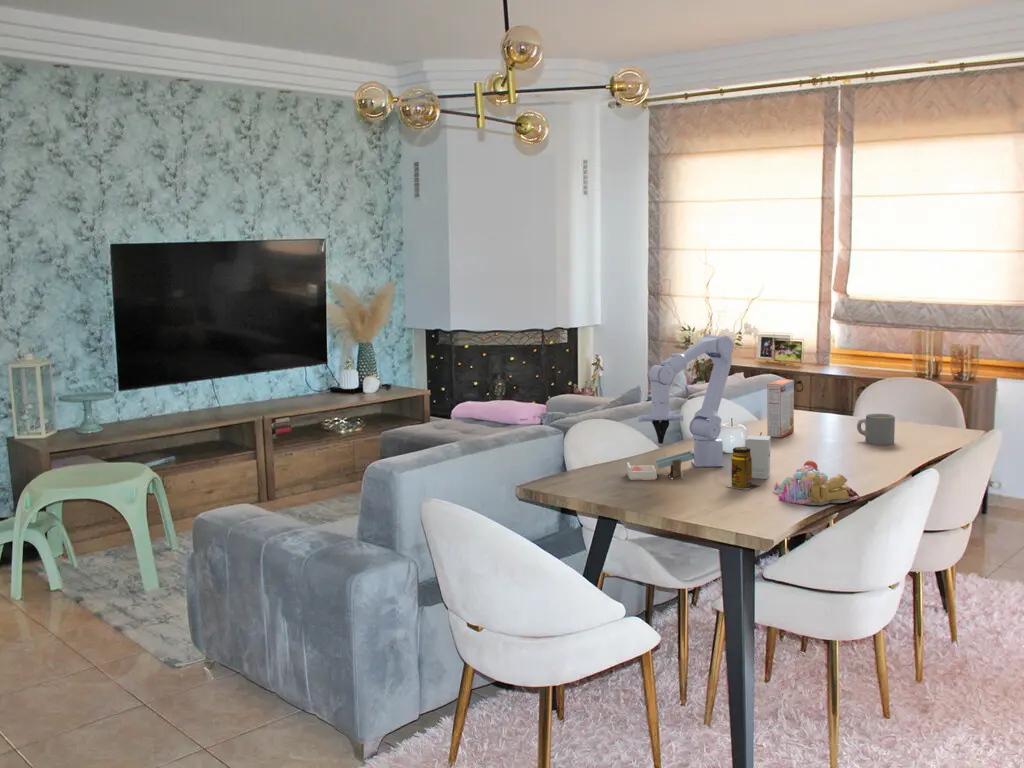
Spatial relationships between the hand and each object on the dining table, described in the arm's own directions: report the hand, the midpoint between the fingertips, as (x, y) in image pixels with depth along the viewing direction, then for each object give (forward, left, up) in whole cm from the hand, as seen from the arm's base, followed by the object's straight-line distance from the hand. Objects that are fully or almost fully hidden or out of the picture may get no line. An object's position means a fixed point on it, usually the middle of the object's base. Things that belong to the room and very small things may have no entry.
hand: (660, 443), depth 325 cm
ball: (+8, +7, -8) cm, 13 cm away
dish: (+7, +7, -10) cm, 14 cm away
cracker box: (-53, -61, -10) cm, 81 cm away
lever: (-4, +3, -5) cm, 7 cm away
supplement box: (-30, +8, -10) cm, 33 cm away
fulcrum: (-4, +7, -10) cm, 13 cm away
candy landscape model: (-40, +34, -10) cm, 54 cm away
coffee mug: (-84, -44, -10) cm, 95 cm away
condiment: (-23, +21, -10) cm, 33 cm away
